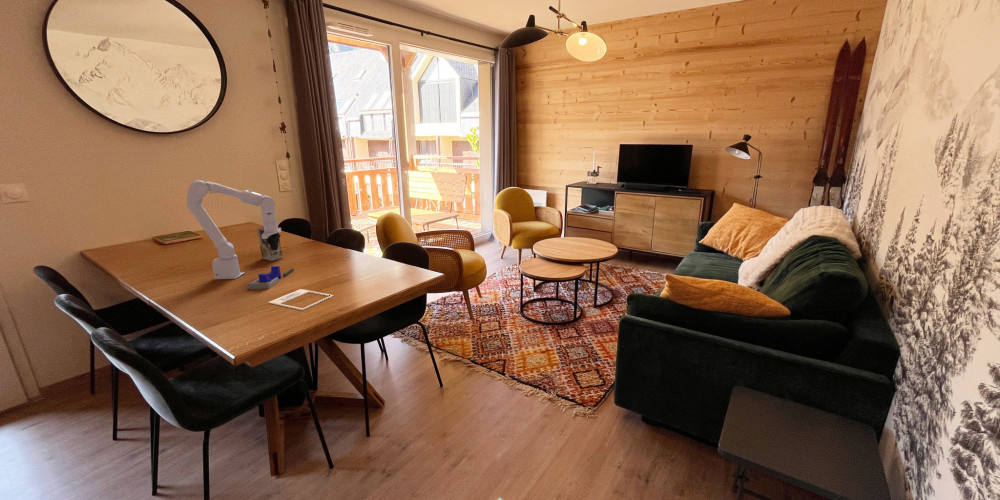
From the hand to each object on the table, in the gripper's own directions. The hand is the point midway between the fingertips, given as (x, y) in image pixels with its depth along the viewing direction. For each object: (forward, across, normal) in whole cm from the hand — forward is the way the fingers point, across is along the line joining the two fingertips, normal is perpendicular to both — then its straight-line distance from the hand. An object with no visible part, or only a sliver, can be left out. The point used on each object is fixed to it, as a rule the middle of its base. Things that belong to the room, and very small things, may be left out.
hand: (274, 249), depth 191 cm
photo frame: (+10, -40, -28) cm, 50 cm away
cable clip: (+10, -20, -6) cm, 23 cm away
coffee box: (+10, +18, +12) cm, 24 cm away
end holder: (+9, -23, -5) cm, 25 cm away
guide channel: (+9, -8, -5) cm, 13 cm away
